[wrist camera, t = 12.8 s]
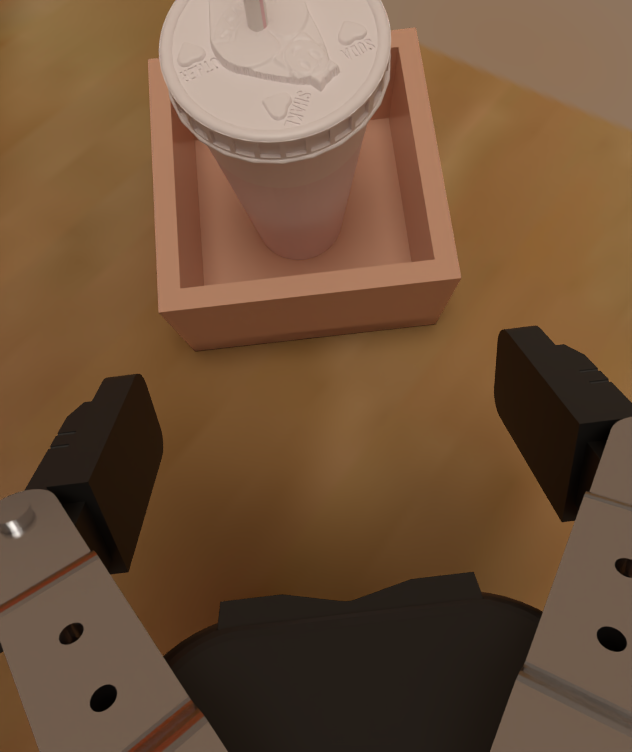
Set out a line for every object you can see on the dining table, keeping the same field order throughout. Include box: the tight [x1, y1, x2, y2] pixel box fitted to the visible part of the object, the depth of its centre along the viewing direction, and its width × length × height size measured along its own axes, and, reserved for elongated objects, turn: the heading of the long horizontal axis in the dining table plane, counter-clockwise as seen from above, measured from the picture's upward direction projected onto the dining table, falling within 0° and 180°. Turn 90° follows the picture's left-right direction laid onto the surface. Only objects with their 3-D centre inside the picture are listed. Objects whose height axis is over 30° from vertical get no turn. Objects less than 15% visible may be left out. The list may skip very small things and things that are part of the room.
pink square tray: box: [148, 28, 461, 351], centre depth 22 cm, size 11×11×5 cm
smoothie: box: [159, 0, 391, 260], centre depth 17 cm, size 6×6×14 cm
